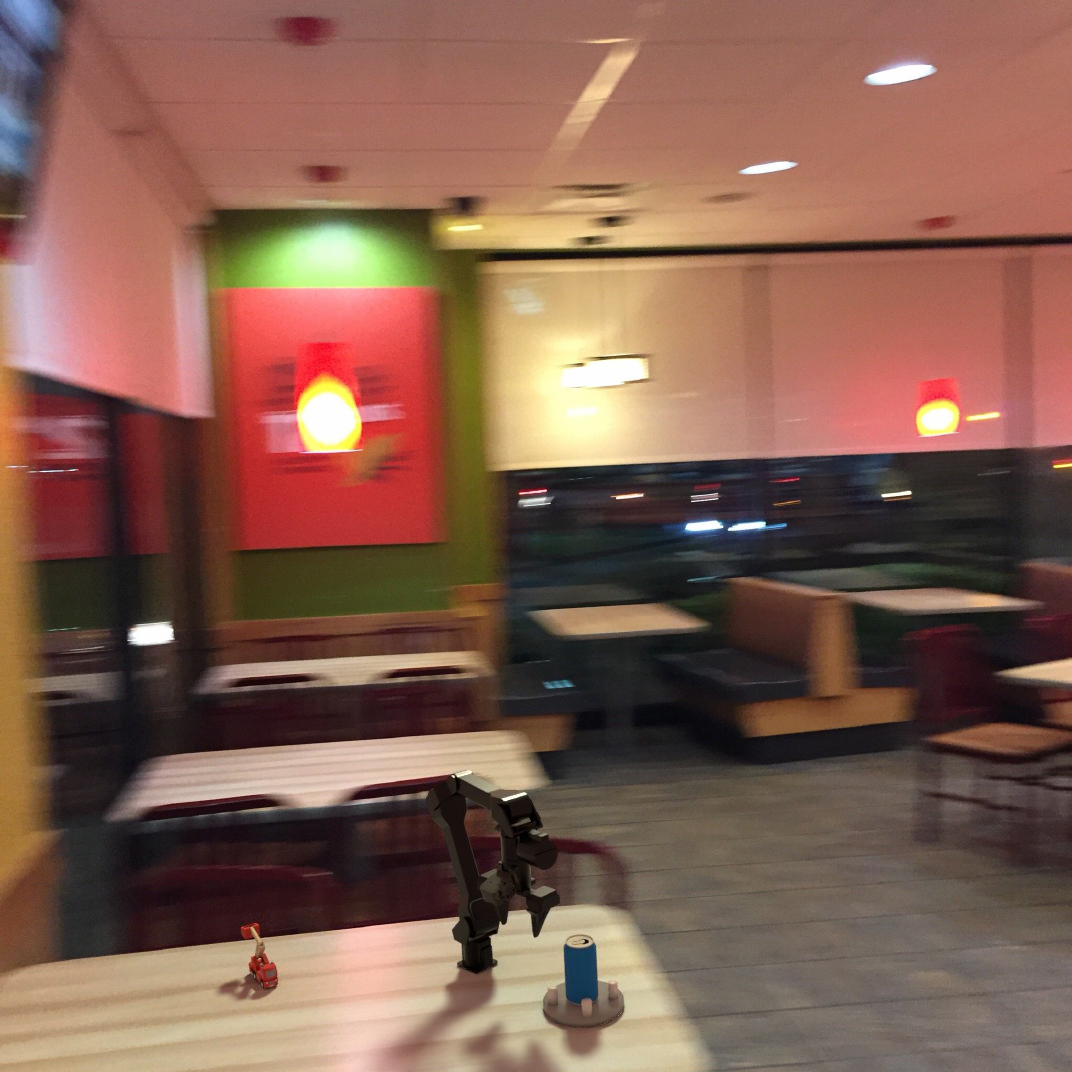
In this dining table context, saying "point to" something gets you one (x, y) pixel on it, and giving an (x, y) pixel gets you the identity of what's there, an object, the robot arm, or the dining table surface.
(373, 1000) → the dining table surface
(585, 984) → the beverage can
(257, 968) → the toy fire truck
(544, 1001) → the peg stand
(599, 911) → the dining table surface
